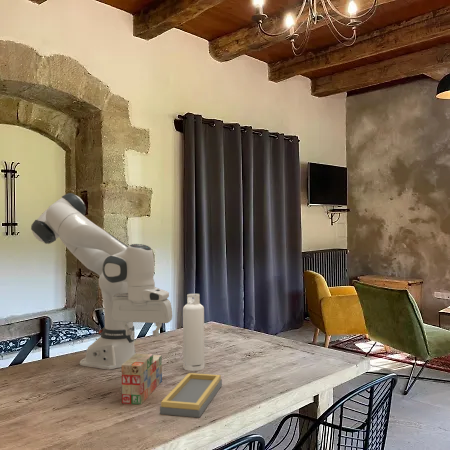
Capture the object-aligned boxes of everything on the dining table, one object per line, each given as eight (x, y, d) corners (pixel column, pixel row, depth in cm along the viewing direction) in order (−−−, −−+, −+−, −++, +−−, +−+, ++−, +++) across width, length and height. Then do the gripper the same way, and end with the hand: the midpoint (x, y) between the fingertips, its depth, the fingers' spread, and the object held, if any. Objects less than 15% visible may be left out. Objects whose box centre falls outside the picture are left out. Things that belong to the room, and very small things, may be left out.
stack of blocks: (145, 380, 165) (145, 345, 165) (162, 381, 164) (162, 346, 164) (121, 403, 144) (121, 364, 144) (140, 405, 143) (140, 365, 143)
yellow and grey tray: (159, 414, 136) (159, 402, 136) (188, 382, 162) (188, 372, 162) (199, 417, 133) (199, 405, 133) (221, 385, 160) (221, 374, 160)
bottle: (179, 369, 177) (178, 295, 177) (189, 363, 185) (189, 292, 184) (198, 372, 174) (197, 296, 174) (208, 365, 181) (207, 293, 181)
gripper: (107, 294, 153) (108, 336, 153) (166, 295, 148) (167, 339, 148) (116, 291, 159) (117, 332, 159) (173, 292, 154) (174, 334, 154)
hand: (142, 335), depth 154 cm, fingers open, 8 cm apart
